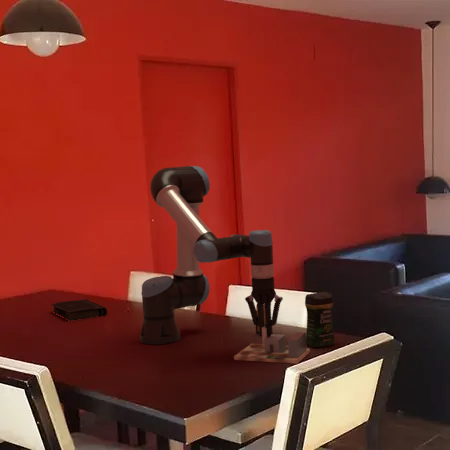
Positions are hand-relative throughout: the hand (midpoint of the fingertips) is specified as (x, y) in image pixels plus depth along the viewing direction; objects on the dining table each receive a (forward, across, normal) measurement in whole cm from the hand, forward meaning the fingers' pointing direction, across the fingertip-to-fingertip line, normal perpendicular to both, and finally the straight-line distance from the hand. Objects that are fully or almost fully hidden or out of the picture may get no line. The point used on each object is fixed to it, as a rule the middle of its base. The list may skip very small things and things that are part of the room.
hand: (266, 345), depth 249 cm
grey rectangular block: (+2, +3, -2) cm, 4 cm away
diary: (+4, -107, +46) cm, 117 cm away
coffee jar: (+4, +14, +17) cm, 22 cm away
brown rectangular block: (+2, +11, 0) cm, 11 cm away
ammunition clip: (+4, -10, +25) cm, 27 cm away
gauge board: (+3, +2, 0) cm, 4 cm away
